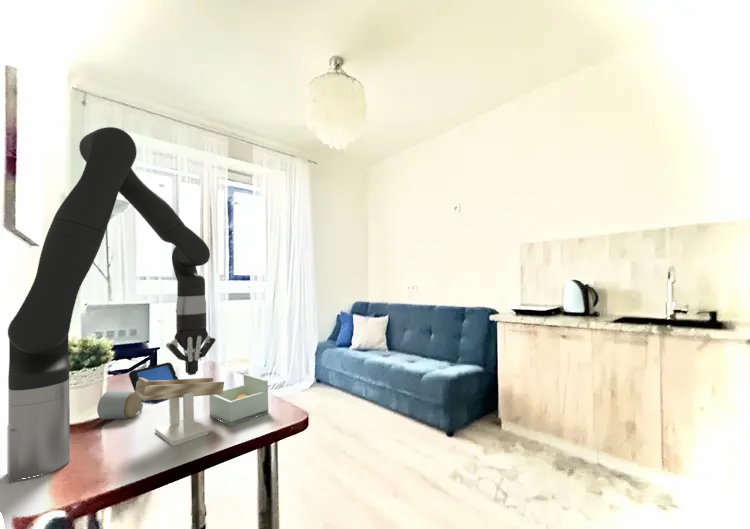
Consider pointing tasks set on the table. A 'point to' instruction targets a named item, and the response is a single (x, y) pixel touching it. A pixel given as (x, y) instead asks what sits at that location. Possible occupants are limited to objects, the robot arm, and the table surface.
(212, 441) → the table surface
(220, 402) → the bin
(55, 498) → the table surface
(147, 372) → the tablet display
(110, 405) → the grey canister
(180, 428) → the chute stand
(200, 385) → the chute lever
